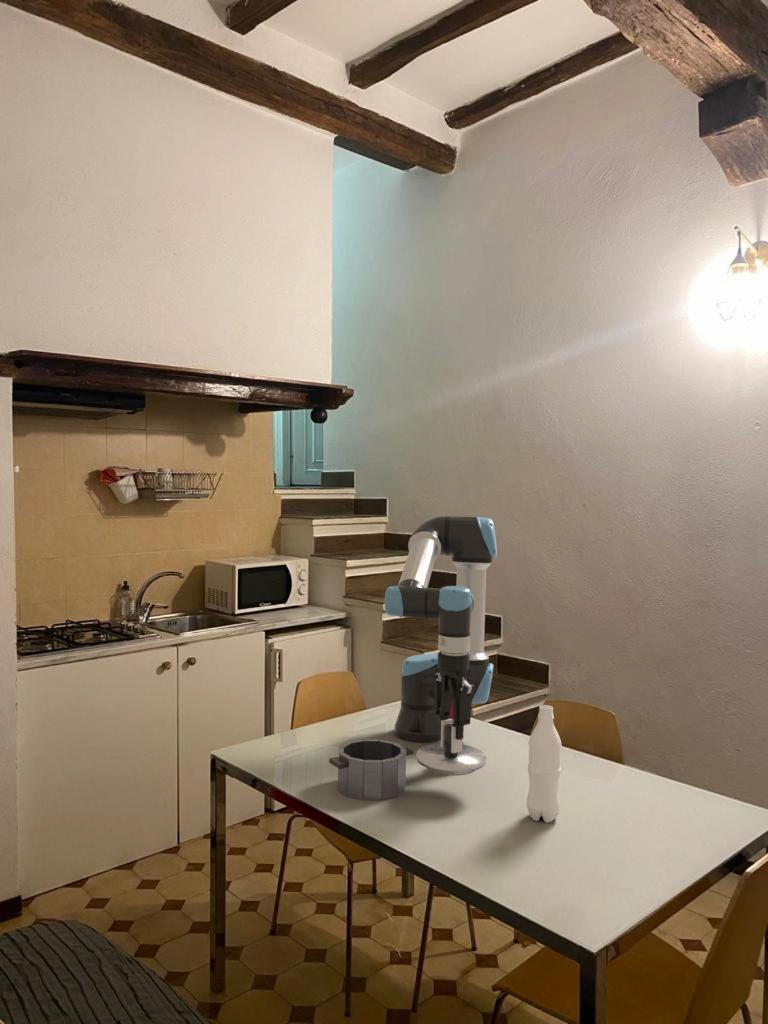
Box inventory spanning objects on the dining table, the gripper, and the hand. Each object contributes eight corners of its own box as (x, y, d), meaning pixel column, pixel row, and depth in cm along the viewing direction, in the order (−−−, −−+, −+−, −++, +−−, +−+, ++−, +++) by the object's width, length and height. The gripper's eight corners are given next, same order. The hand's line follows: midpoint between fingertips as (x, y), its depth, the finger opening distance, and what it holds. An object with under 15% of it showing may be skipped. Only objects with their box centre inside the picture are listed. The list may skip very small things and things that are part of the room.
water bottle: (550, 827, 172) (554, 713, 171) (520, 818, 176) (524, 707, 175) (564, 817, 177) (568, 706, 177) (535, 808, 182) (538, 700, 181)
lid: (457, 748, 201) (457, 711, 200) (500, 770, 187) (501, 730, 186) (402, 760, 192) (403, 722, 191) (443, 784, 178) (444, 743, 177)
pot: (389, 768, 205) (390, 734, 205) (425, 790, 191) (426, 753, 191) (317, 783, 194) (318, 747, 193) (350, 807, 180) (351, 768, 180)
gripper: (420, 646, 193) (418, 741, 194) (462, 661, 179) (460, 763, 180) (445, 643, 197) (443, 736, 198) (488, 657, 183) (485, 757, 184)
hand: (451, 748), depth 189 cm, fingers closed on lid, 3 cm apart
